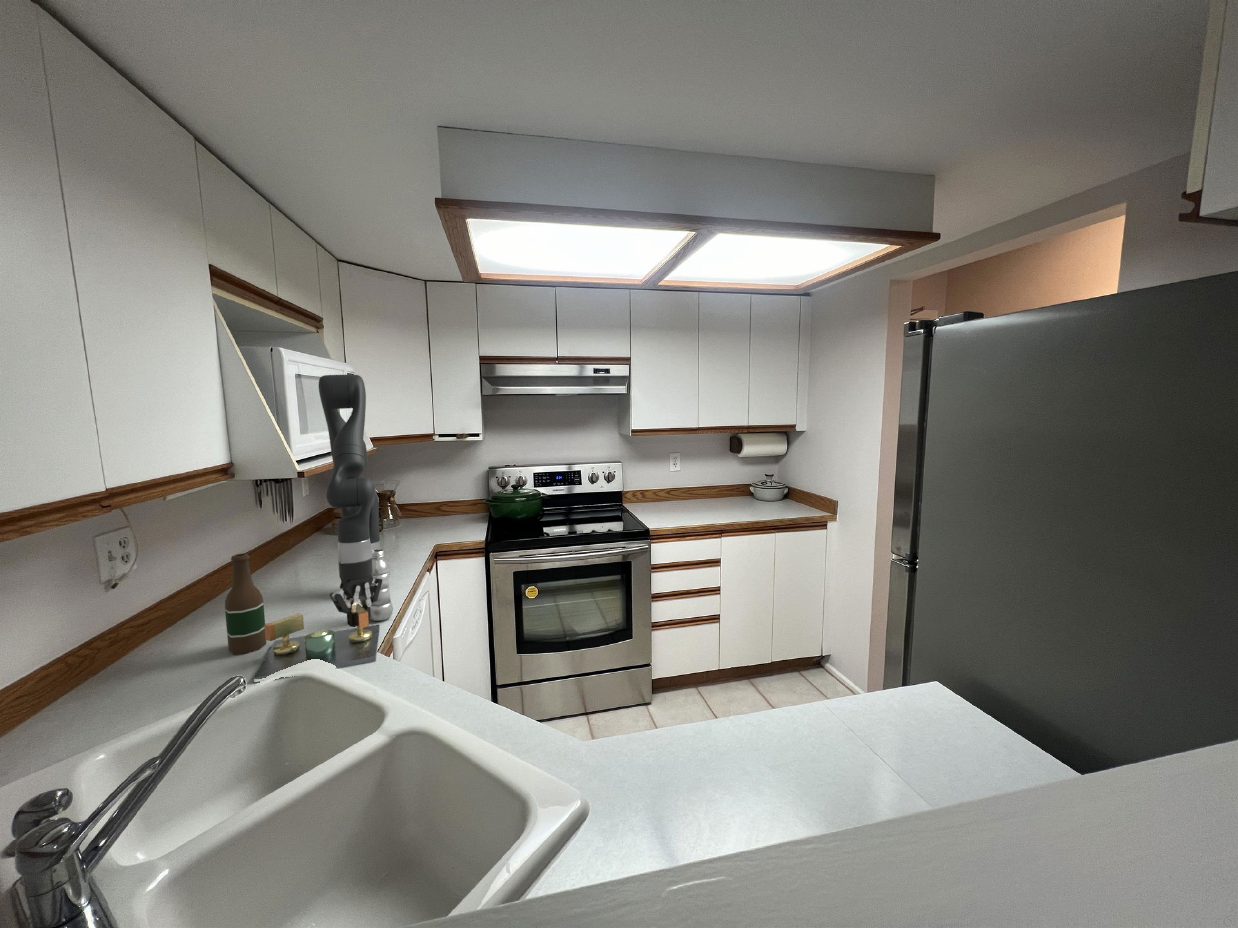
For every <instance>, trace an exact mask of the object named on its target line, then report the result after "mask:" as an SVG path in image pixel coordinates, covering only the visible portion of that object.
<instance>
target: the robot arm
mask: <svg viewBox="0 0 1238 928" xmlns="http://www.w3.org/2000/svg"><path fill="white" fill-rule="evenodd" d="M364 381H365V380H363V377H362V376H361V375H358V374H327V375H325V374H324V375H321V376H320V378H319V380H318V393H319V397H320V402H321V406H322V410H323V414H324V418H325V422H326V425H327V430H328V431H327V432H328V436H329V438H328V439H329V445H330V451H331V457H332V463H333V467H332V468H333V469H332V474H331V476H330V479H329V483H328V485H327V489H326V493H325V495H326V496H325V497H326V501H327V503H328V504H329V505H330V506H331V507H332V508H335V509H340V514H341V515H340V516H341V518H339V519H338V520H337V523H336V524H337V525H336V529H337V542H338V543H337V561H338V574H339V575H338V576H339V578H340V584H339V588H338V590H336V591H335V592H330V594H329V598H330V599H331V601H332V603H333V605H334V607H335V608H336V610H337V611H338V613H343V614H345V615H346V621H347V625H348V626H349V627H350V628H357V616H356V604H359V602H360V606H361V607H363V608H364V609H365V610H366V611H367V612H368V622H369V621H371V619H370V617H371V609H370V606H371V604H372V603H373V602H376V601H377V599H378V595H379V592H380V588H381V585H382V579H379V578H373V576H372V575H371V574H372V573H373V565H372V550H375V549H381V539H380V526H379V525H380V524H379V522H380V519H379V518H380V517H379V516H380V515H379V514H380V513H379V512H380V511H379V508H380V506H379V504H380V503H379V497H378V495H377V494H376V487H375V484H374V483H373V481H372V480H371V479H370V478H368V477H361V476H362V474H363V473H364V472H365V470H366V469H367V466H368V462H369V458H368V451H367V444H366V442H365V440H364V435H365V424H366V423H365V422H366V407H367V394H366V386H365V382H364ZM342 409H344V410H345V409H352V411H351V413H350V416H349V417H348V419H347V421H345V420H344V417H342V415H341V413H340V411H339V410H342ZM369 588H370V589H369ZM373 593H374V595H373Z"/></svg>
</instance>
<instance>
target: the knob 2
mask: <svg viewBox="0 0 1238 928" xmlns="http://www.w3.org/2000/svg"><path fill="white" fill-rule="evenodd" d="M356 616H357V626H356V628H357V631H355V632H353V633H351V634H350V635H349V641H350V642H362V641H365V640H368V639H370V638H371V637H372V631H371V630H363V628H364V627H368V626H370V625H369V624H370V623H369V621H368V612H367V611H366V610H365V609H364V608H363V607H362V605H361V604H359V603H357V604H356Z"/></svg>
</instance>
